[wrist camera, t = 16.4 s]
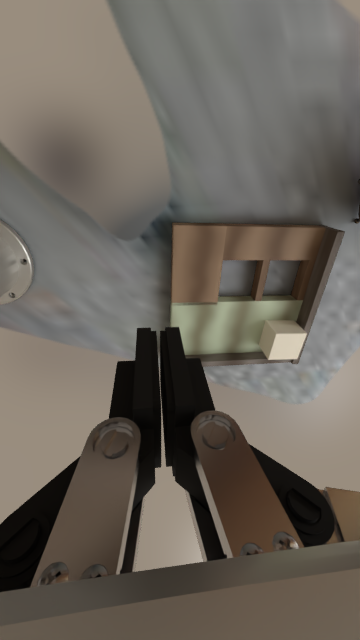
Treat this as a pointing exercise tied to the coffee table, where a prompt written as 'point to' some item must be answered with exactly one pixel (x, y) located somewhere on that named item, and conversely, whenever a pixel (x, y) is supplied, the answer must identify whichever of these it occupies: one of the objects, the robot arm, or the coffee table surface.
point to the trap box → (251, 311)
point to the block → (282, 339)
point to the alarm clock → (359, 210)
